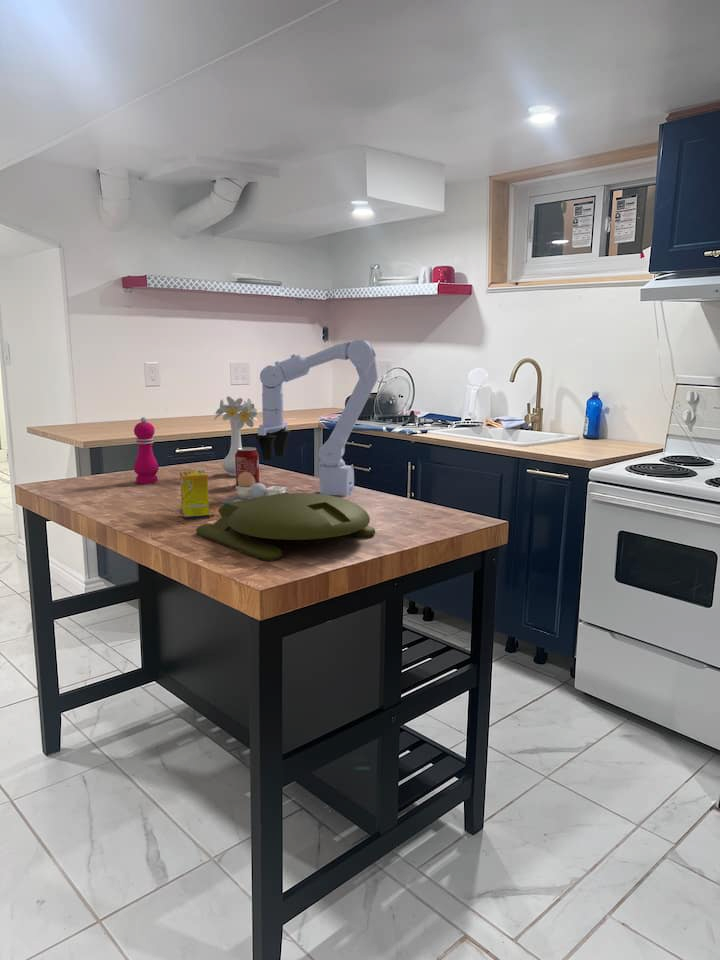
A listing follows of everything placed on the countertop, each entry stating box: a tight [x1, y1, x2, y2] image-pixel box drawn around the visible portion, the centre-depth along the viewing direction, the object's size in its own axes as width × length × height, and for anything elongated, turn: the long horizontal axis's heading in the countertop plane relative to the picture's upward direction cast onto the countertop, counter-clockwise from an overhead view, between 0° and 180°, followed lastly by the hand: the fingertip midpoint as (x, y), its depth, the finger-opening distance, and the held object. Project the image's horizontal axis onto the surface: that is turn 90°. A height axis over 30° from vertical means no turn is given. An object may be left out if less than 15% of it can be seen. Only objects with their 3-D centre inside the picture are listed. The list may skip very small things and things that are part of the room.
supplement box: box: [179, 470, 210, 520], centre depth 172 cm, size 6×6×11 cm
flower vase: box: [213, 395, 259, 477], centre depth 225 cm, size 13×18×25 cm
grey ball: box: [250, 482, 267, 498], centre depth 187 cm, size 4×4×4 cm
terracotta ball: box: [238, 472, 254, 487], centre depth 189 cm, size 4×4×4 cm
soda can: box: [235, 446, 260, 487], centre depth 205 cm, size 7×7×12 cm
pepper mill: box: [133, 416, 160, 485], centre depth 213 cm, size 7×7×20 cm
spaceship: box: [195, 492, 376, 561], centre depth 154 cm, size 35×31×10 cm
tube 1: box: [235, 485, 253, 499], centre depth 190 cm, size 5×5×3 cm
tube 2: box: [266, 485, 288, 496], centre depth 187 cm, size 5×5×3 cm
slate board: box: [219, 494, 267, 504], centre depth 188 cm, size 16×14×2 cm
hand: (273, 458), depth 197 cm, fingers open, 7 cm apart
